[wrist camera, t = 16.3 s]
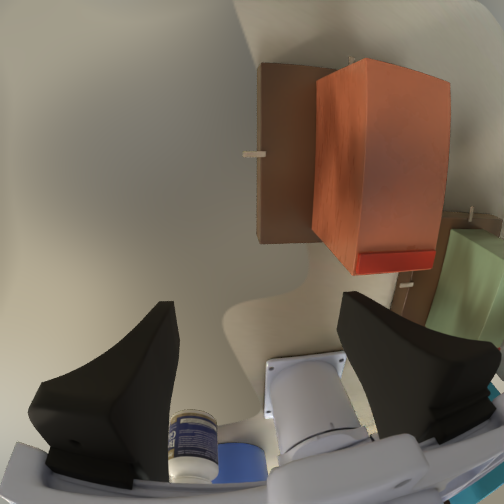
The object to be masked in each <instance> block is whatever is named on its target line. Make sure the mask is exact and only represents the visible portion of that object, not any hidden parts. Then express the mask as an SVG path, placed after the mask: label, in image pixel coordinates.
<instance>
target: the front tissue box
mask: <svg viewBox="0 0 504 504" xmlns="http://www.w3.org/2000/svg"><path fill="white" fill-rule="evenodd" d="M316 86H317V101H316V154H315V180H314V200H313V216H312V230H313V231H314V232H315V233H316V235H317V236H318V237H319V238H320V239H321V240H322V241H323V242H324V244H325V245H326V246H327V247H328V248H329V249H330V250H331V252H332V253H333V254H334V255H335V256H336V257H337V258H338V260H339V261H340V262H341V263H342V264H343V265H344V267H345V268H346V269H347V270H348V271H349V272H350V274H351V275H353V276H355V275H369V274H382V273H394V272H406V271H418V270H429V269H431V268H432V267H433V263H434V259H435V254H436V251H435V249H436V244H437V239H438V234H439V228H440V223H441V217H442V211H443V204H444V197H445V190H446V181H447V172H448V161H449V147H450V122H451V96H450V83H449V82H447V81H444V80H442V79H439V78H436V77H433V76H430V75H427V74H424V73H421V72H418V71H415V70H412V69H408V68H405V67H401V66H398V65H394V64H390V63H386V62H382V61H378V60H374V59H370V58H364V59H362V60H359V61H357V62H355V63H353V64H351V65H348V66H346V67H344V68H342V69H340V70H338V71H335V72H333V73H331V74H329V75H327V76H325V77H323V78H321V79H319V80H317V81H316Z"/></svg>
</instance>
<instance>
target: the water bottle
mask: <svg viewBox="0 0 504 504" xmlns="http://www.w3.org/2000/svg"><path fill="white" fill-rule="evenodd" d="M218 467H219V472H218V475H217V477H216V478H215V479H213V480H212V481H211V482H212V484H225V483H245V482H258V481H267V477H268V471H267V465H266V459H265V453H264V451H263V450H262V449H261V448H259V447H257V446H254V445H251V444H245V443H223V444H218Z"/></svg>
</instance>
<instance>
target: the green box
mask: <svg viewBox="0 0 504 504" xmlns="http://www.w3.org/2000/svg"><path fill="white" fill-rule="evenodd" d="M425 326H426V328H429V329H432V330H435V331H438V332H441V333H444V334H448V335H452V336H456V337H461V338H466V339H471V340H480V341H490V342H492V343H493V344H494V345H495V346H496V347H497V348H498V349H499V350H500V349H501V348H500V346H501V344H502V342H503V340H504V240H503V239H501V238H499V237H497V236H495V235H493V234H492V233H490V232H488V231H486V230H484V229H451V231H450V236H449V241H448V246H447V250H446V255H445V259H444V263H443V267H442V271H441V275H440V278H439V282H438V286H437V289H436V293H435V296H434V299H433V303H432V306H431V309H430V312H429V315H428V318H427V321H426V324H425Z"/></svg>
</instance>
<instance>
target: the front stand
mask: <svg viewBox="0 0 504 504" xmlns="http://www.w3.org/2000/svg"><path fill="white" fill-rule="evenodd" d="M353 63H354V57H351V56H349V65H351V64H353ZM335 71H338V70H336V69H329V68H322V67H314V66H304V65H294V64H281V63H261V64H260V65H259V67H258V69H257V151H243V157H257V232H256V234H257V237H258V240H259V243H260V244H283V243H316V242H323V241H322V240H321V239H320V238H319V237H318V236H317V235H316V233H315V232H314V231H313V230H312V216H313V200H314V180H315V154H316V101H317V86H316V81H317V80H319V79H321V78H323V77H325V76H327V75H329V74H331V73H333V72H335Z"/></svg>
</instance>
